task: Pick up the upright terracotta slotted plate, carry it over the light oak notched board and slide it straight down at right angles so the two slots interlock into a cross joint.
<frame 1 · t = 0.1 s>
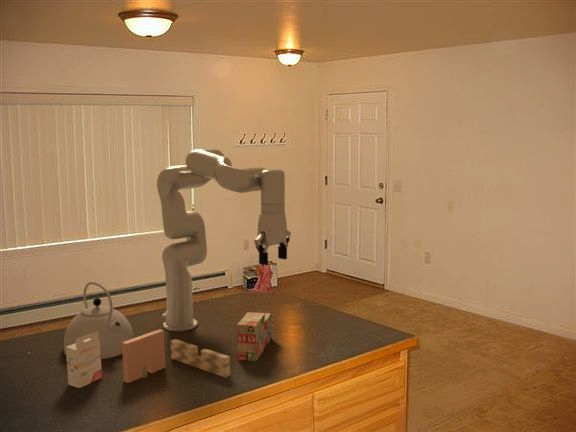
hand: (273, 261, 191), 31 cm above the kitchen island, tool pointing down, fingers open, 9 cm apart
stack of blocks: (255, 349, 200), on the kitchen island
ink cartridge box: (85, 382, 175), on the kitchen island
terracotta slotted plate: (145, 374, 180), on the kitchen island
oak notched board: (199, 366, 186), on the kitchen island
kettle: (101, 348, 201), on the kitchen island
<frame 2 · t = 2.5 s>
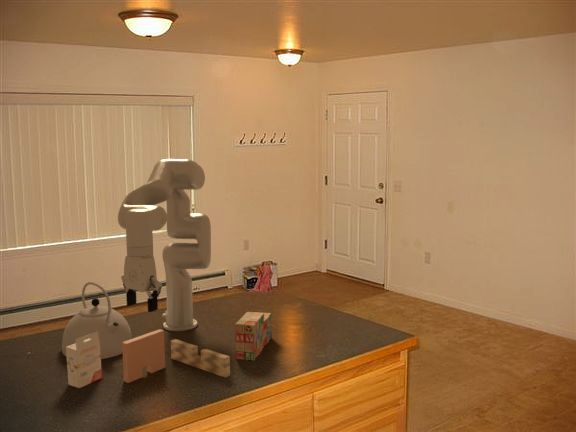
hand: (142, 307, 176), 21 cm above the kitchen island, tool pointing down, fingers open, 9 cm apart
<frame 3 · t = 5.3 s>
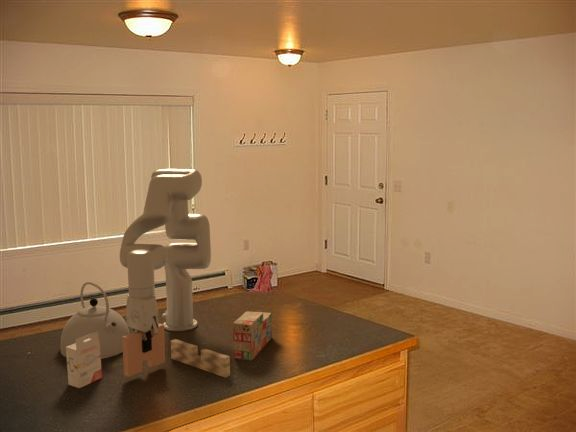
hand: (144, 349, 179), 8 cm above the kitchen island, tool pointing down, fingers closed on terracotta slotted plate, 1 cm apart
terracotta slotted plate: (145, 368, 180), point 2 cm above the kitchen island, touching gripper
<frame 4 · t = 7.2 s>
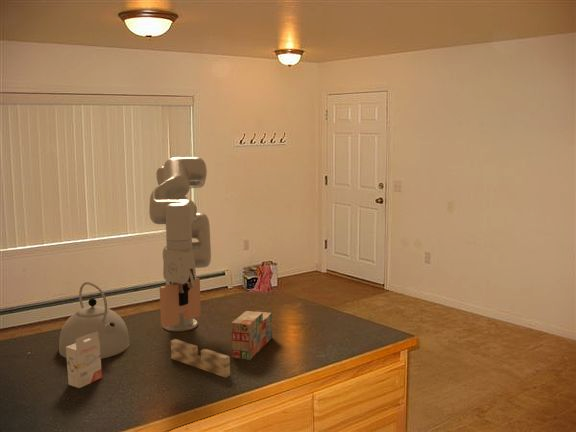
hand: (181, 303, 181), 21 cm above the kitchen island, tool pointing down, fingers closed on terracotta slotted plate
terracotta slotted plate: (181, 320, 181), point 15 cm above the kitchen island, touching gripper
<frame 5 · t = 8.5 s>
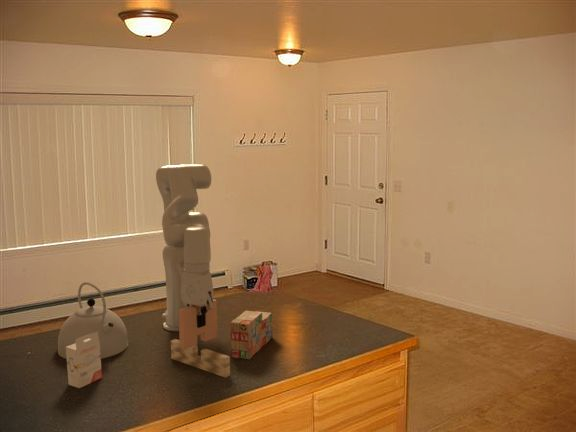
hand: (198, 325, 183), 13 cm above the kitchen island, tool pointing down, fingers closed on terracotta slotted plate
terracotta slotted plate: (199, 342, 184), point 8 cm above the kitchen island, touching gripper
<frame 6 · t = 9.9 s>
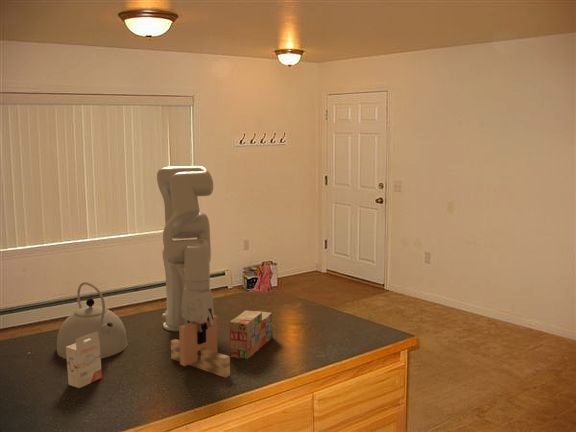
hand: (198, 341, 184), 8 cm above the kitchen island, tool pointing down, fingers closed on terracotta slotted plate
terracotta slotted plate: (199, 358, 185), point 3 cm above the kitchen island, touching gripper
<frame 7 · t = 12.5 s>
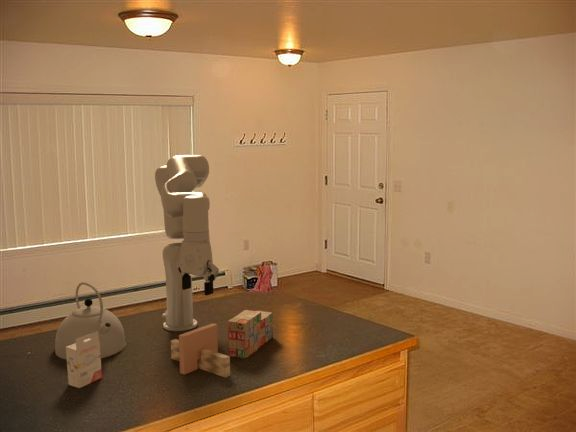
hand: (197, 291, 182), 24 cm above the kitchen island, tool pointing down, fingers open, 9 cm apart
terracotta slotted plate: (199, 366, 186), on the kitchen island, touching oak notched board
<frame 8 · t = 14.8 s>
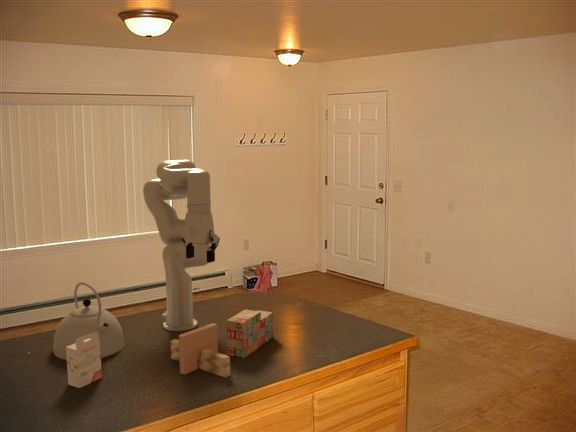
hand: (200, 259, 197), 30 cm above the kitchen island, tool pointing down, fingers open, 9 cm apart
at the end: terracotta slotted plate 0.1 cm off-centre on the oak notched board, point 0.0 cm above the oak notched board's base; terracotta slotted plate tilted 0°; the gripper is holding nothing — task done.
